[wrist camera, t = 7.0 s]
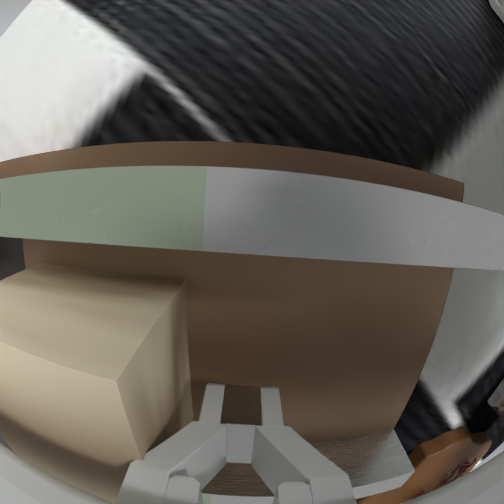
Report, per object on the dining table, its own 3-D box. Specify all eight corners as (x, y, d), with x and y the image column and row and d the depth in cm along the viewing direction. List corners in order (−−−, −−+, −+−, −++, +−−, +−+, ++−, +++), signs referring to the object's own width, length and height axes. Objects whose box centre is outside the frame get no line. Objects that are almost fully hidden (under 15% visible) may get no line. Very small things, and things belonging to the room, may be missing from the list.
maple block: (40, 262, 8) (-57, 309, 3) (186, 277, 8) (116, 380, 3) (70, 388, 9) (18, 457, 4) (193, 416, 9) (171, 520, 4)
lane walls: (21, 182, 7) (-34, 185, 4) (462, 209, 8) (520, 220, 5) (70, 422, 10) (47, 457, 7) (382, 446, 10) (401, 486, 7)
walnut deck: (-30, 179, 11) (-67, 183, 7) (410, 182, 11) (463, 183, 7) (-5, 350, 14) (-31, 372, 10) (357, 412, 14) (376, 456, 10)
